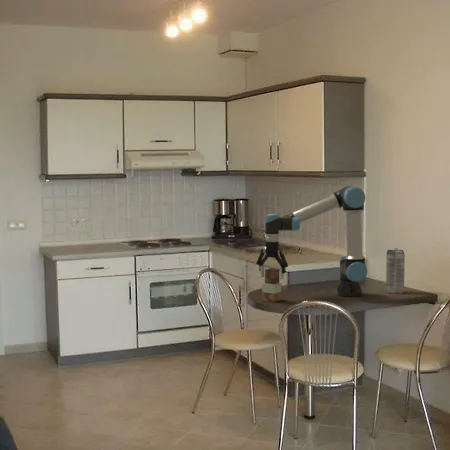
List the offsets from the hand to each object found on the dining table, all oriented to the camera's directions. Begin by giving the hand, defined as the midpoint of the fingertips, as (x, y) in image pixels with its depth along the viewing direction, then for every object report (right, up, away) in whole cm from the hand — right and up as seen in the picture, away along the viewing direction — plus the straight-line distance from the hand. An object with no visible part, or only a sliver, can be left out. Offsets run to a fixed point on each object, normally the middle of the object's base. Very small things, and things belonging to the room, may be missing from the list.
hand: (272, 278), depth 407 cm
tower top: (0, -8, +1) cm, 8 cm away
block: (0, -3, 0) cm, 3 cm away
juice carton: (+76, -11, +23) cm, 80 cm away
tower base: (0, -13, +1) cm, 13 cm away
